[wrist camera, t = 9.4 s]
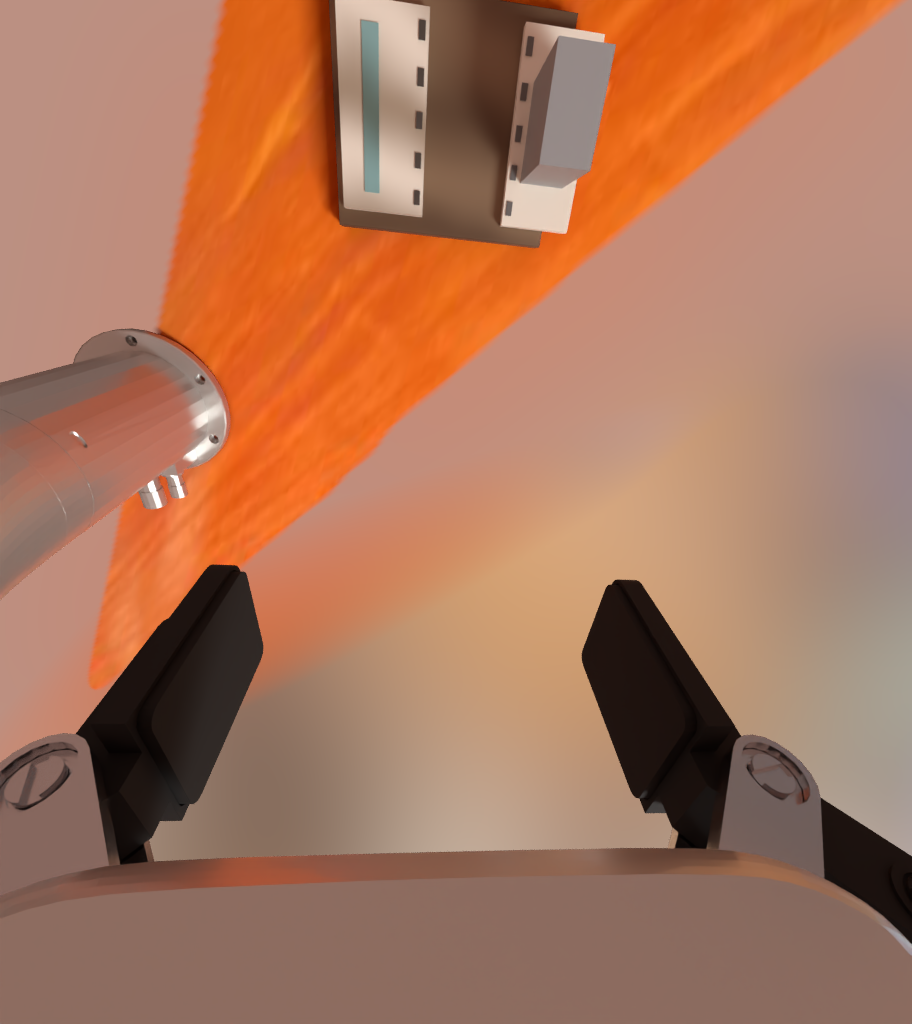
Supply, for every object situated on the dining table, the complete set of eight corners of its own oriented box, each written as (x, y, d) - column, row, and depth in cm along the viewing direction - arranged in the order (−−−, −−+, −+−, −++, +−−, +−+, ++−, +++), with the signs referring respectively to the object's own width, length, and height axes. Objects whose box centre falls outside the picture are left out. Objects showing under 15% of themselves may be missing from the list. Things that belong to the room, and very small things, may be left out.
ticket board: (534, 248, 32) (541, 246, 30) (343, 226, 31) (337, 223, 29) (570, 26, 26) (582, 5, 24) (333, -14, 24) (323, -39, 22)
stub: (563, 233, 30) (594, 225, 24) (499, 226, 30) (515, 216, 24) (600, 40, 25) (650, -29, 19) (523, 28, 25) (551, -46, 19)
